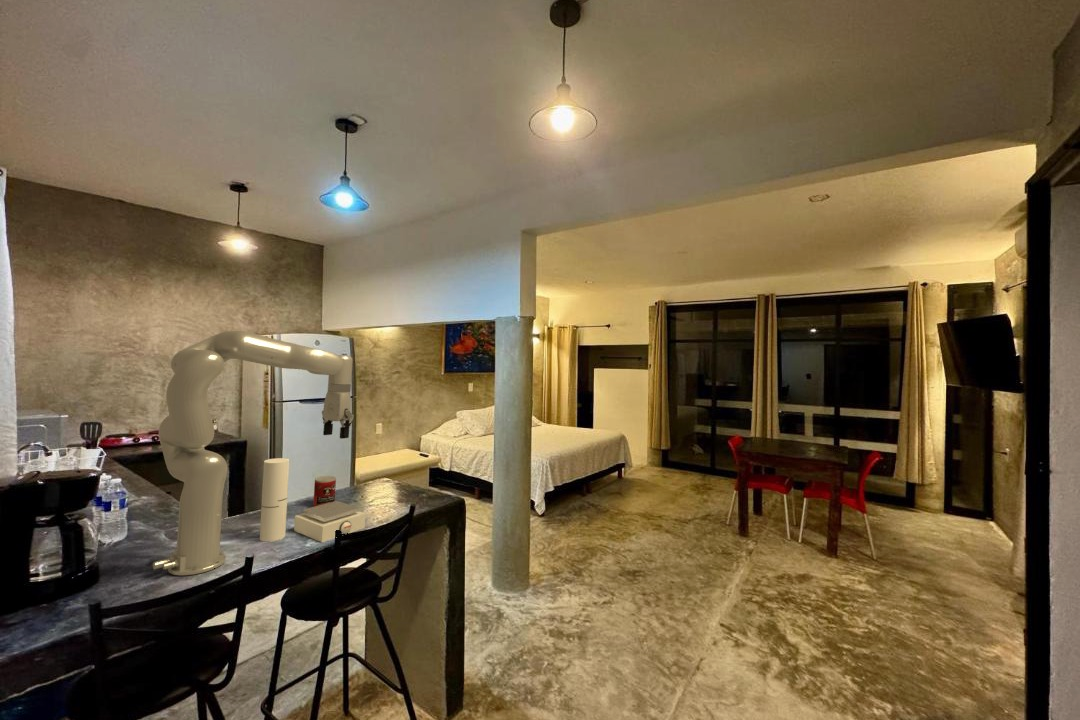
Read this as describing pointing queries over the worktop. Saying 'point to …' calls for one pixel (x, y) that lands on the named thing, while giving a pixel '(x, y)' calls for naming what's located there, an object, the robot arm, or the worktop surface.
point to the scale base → (328, 526)
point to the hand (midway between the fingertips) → (335, 436)
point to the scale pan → (330, 511)
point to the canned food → (324, 490)
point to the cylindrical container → (274, 499)
